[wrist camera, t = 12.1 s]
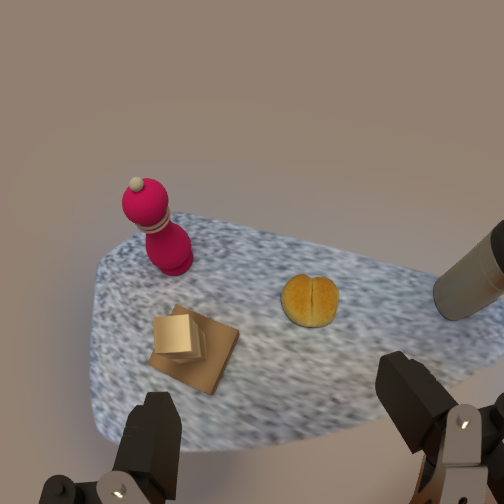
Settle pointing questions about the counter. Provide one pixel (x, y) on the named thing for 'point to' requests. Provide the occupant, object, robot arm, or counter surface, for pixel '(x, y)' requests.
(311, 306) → the bread roll
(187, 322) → the beech block
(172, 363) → the walnut block
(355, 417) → the counter surface
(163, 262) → the pepper mill
